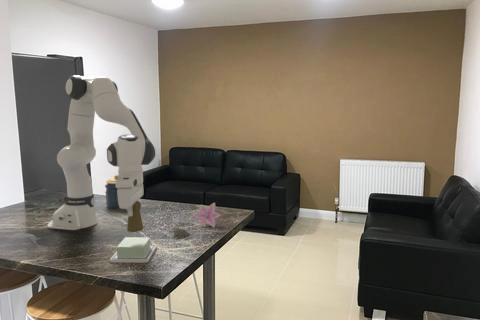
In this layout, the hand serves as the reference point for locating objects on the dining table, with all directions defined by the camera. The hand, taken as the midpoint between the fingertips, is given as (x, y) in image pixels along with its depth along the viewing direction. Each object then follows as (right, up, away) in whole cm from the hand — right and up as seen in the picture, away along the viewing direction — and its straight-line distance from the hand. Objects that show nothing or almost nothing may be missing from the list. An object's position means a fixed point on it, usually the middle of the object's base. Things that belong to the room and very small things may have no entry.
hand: (133, 213), depth 149 cm
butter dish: (0, -16, +3) cm, 17 cm away
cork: (+1, -6, +1) cm, 7 cm away
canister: (-27, -5, +69) cm, 75 cm away
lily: (+25, -11, +38) cm, 47 cm away
